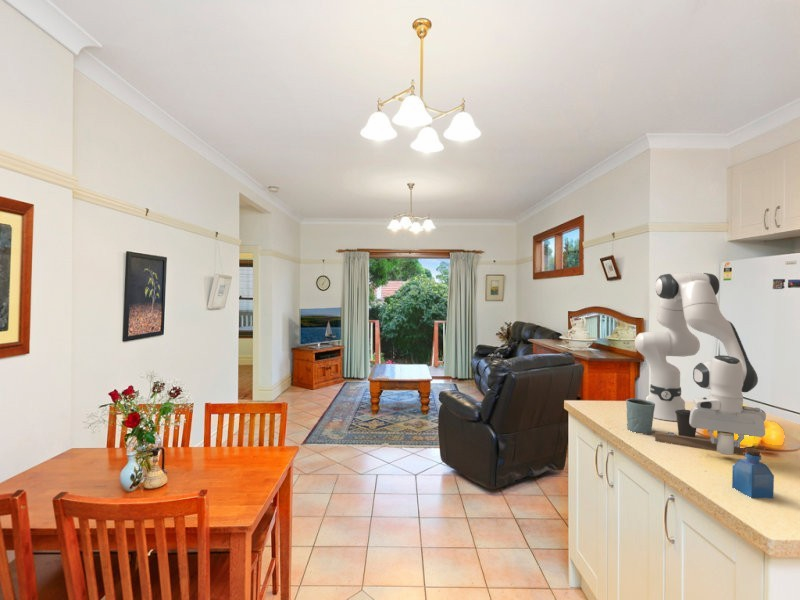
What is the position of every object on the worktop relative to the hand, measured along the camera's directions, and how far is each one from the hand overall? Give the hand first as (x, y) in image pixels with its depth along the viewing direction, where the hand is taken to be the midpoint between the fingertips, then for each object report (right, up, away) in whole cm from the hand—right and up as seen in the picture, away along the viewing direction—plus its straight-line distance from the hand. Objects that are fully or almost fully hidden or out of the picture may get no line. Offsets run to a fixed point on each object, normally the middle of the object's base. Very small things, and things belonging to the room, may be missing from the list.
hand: (725, 444), depth 140 cm
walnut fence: (-2, -4, +10) cm, 12 cm away
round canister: (0, -3, 0) cm, 3 cm away
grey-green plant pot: (-13, -4, +28) cm, 31 cm away
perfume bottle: (-12, -5, -25) cm, 28 cm away
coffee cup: (+3, -5, +23) cm, 23 cm away
